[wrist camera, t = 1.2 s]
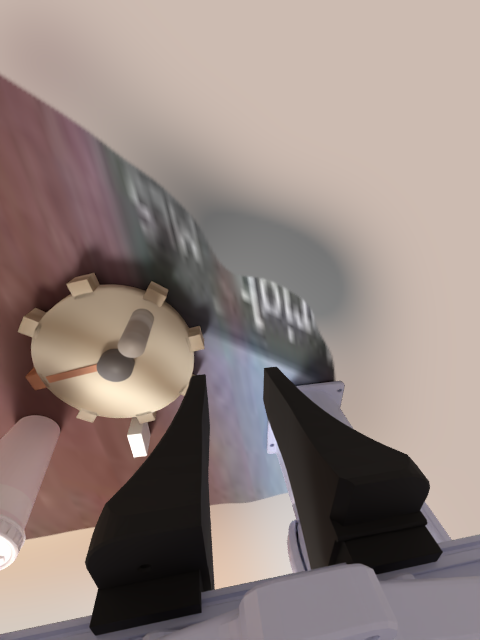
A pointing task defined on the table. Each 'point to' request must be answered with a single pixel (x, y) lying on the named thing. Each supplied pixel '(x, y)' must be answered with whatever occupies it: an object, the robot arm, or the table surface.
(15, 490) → the smoothie
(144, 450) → the index pointer
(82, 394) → the sprocket
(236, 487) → the table surface
